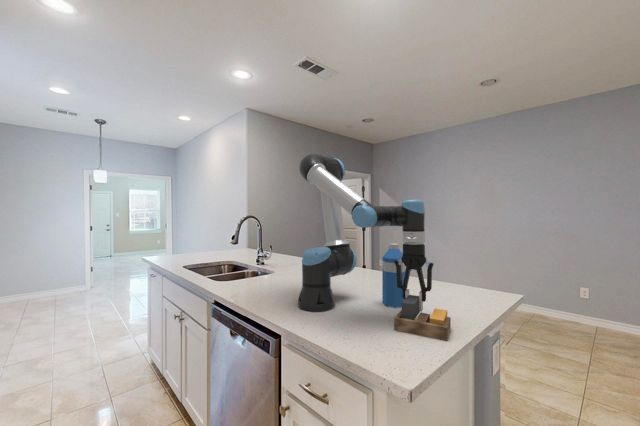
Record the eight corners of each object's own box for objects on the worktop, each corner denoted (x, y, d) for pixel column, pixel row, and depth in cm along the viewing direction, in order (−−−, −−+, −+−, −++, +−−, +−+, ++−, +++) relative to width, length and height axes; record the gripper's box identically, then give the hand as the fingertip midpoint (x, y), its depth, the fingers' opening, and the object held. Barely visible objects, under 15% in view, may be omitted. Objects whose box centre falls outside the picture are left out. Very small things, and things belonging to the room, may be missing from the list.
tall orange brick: (429, 334, 90) (429, 318, 90) (434, 322, 100) (434, 308, 100) (443, 336, 88) (443, 320, 88) (447, 324, 98) (447, 310, 98)
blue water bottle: (406, 308, 114) (406, 245, 114) (382, 306, 116) (382, 245, 116) (404, 301, 123) (404, 243, 124) (382, 299, 125) (382, 242, 125)
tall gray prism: (401, 317, 94) (401, 302, 94) (409, 308, 104) (409, 294, 104) (414, 319, 92) (413, 304, 92) (421, 310, 102) (420, 296, 102)
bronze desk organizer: (394, 330, 93) (394, 318, 93) (401, 320, 101) (401, 309, 101) (447, 340, 85) (447, 328, 85) (450, 329, 94) (450, 317, 94)
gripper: (386, 243, 103) (387, 308, 103) (437, 245, 94) (438, 316, 94) (392, 241, 109) (393, 302, 109) (440, 243, 101) (441, 309, 101)
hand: (414, 309), depth 102 cm, fingers closed on tall gray prism, 4 cm apart
